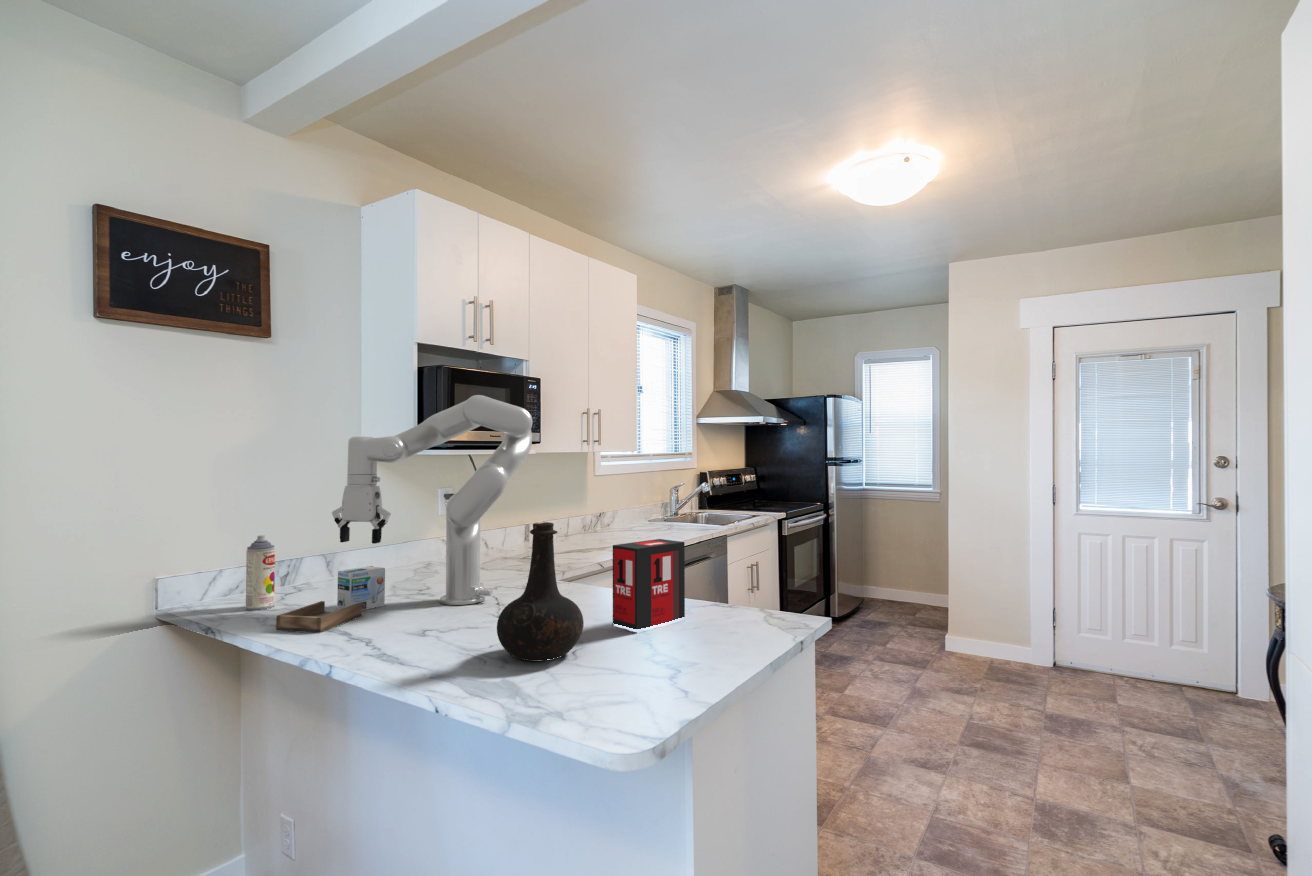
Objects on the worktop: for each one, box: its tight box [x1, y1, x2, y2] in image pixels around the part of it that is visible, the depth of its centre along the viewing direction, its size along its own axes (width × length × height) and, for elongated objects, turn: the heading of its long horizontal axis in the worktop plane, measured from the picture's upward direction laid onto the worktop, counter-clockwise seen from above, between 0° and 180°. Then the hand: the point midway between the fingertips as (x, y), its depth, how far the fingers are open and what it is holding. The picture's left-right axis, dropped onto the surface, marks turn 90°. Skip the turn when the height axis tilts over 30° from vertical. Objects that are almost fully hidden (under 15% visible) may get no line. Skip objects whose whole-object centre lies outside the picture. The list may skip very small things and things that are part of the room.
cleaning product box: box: [612, 538, 686, 629], centre depth 162 cm, size 16×9×20 cm, turn 134°
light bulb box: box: [336, 565, 386, 611], centre depth 180 cm, size 11×7×11 cm, turn 148°
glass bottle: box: [496, 521, 585, 661], centre depth 137 cm, size 18×18×28 cm
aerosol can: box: [245, 534, 276, 611], centre depth 180 cm, size 7×7×20 cm
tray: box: [275, 600, 363, 633], centre depth 163 cm, size 12×16×4 cm
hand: (360, 542), depth 180 cm, fingers open, 9 cm apart
